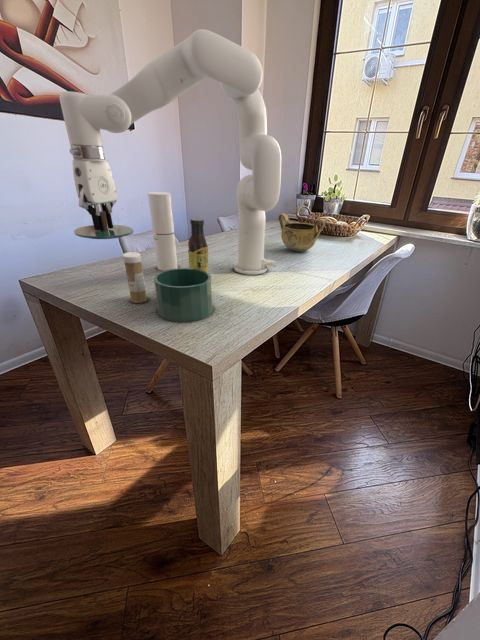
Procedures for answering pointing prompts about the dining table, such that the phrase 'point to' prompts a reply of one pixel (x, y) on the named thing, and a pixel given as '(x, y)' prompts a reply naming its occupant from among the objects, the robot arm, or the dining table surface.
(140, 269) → the sprinkles bottle
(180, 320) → the canister
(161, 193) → the cylindrical container
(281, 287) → the dining table surface
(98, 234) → the lid
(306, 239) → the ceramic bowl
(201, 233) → the sauce bottle
